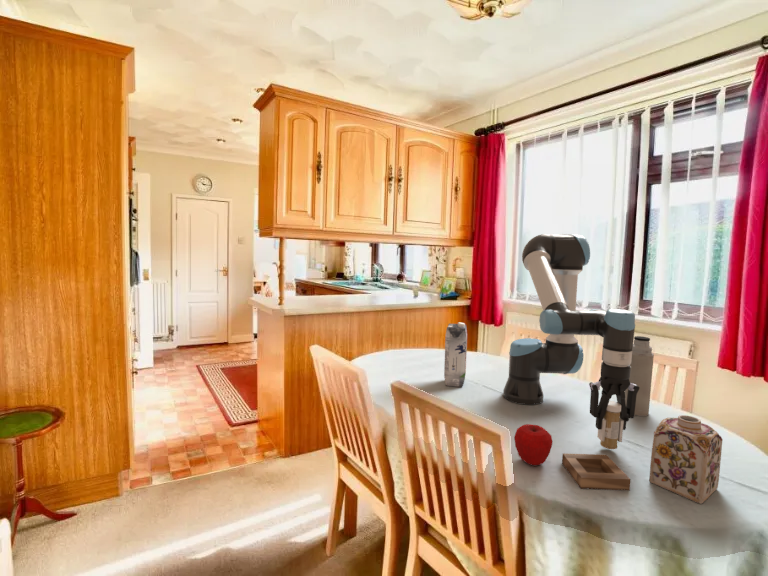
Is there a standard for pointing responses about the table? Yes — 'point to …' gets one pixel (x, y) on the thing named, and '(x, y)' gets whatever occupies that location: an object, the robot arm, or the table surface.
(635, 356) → the thermos bottle
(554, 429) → the table surface
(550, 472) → the table surface
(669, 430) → the decorative jar
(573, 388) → the table surface
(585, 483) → the socket board
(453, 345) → the juice carton
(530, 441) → the apple
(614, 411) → the sprinkles bottle
